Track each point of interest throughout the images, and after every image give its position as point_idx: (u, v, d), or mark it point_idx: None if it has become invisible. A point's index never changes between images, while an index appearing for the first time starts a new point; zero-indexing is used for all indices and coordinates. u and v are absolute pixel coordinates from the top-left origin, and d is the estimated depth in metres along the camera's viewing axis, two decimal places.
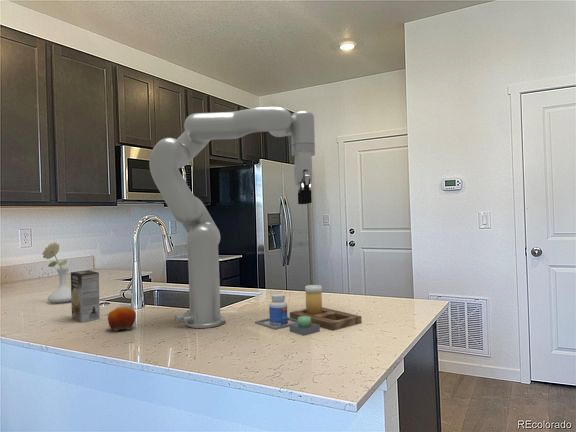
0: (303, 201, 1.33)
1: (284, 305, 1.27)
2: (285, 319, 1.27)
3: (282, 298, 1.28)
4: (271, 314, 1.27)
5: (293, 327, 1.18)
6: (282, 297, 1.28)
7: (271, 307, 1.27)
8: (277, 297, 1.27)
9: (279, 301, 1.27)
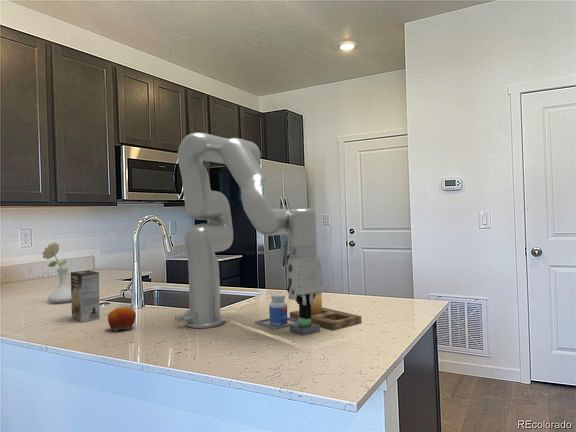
0: None
1: (284, 305, 1.27)
2: (285, 319, 1.27)
3: (282, 298, 1.28)
4: (271, 314, 1.27)
5: (293, 327, 1.18)
6: (282, 297, 1.28)
7: (271, 307, 1.27)
8: (277, 297, 1.27)
9: (279, 301, 1.27)
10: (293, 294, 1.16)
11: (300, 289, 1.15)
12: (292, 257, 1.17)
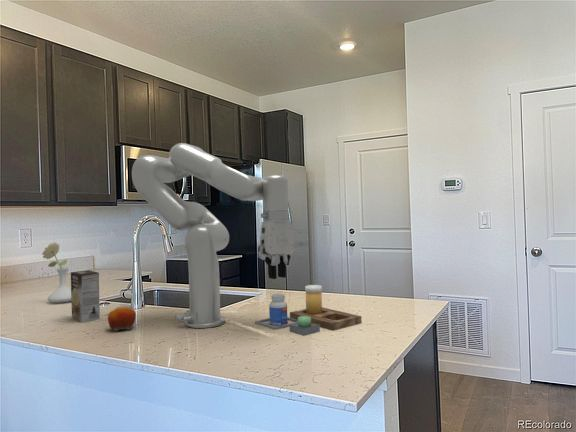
0: None
1: (284, 305, 1.27)
2: (285, 319, 1.27)
3: (282, 298, 1.28)
4: (271, 314, 1.27)
5: (293, 327, 1.18)
6: (282, 297, 1.28)
7: (271, 307, 1.27)
8: (277, 297, 1.27)
9: (279, 301, 1.27)
10: (263, 253, 1.25)
11: (272, 249, 1.24)
12: (265, 220, 1.27)
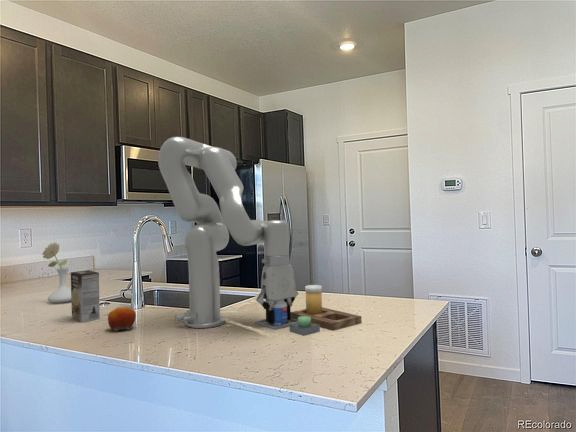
0: None
1: (284, 305, 1.27)
2: (285, 319, 1.27)
3: None
4: None
5: (293, 327, 1.18)
6: None
7: None
8: None
9: (279, 301, 1.27)
10: (261, 297, 1.24)
11: (273, 295, 1.24)
12: (266, 265, 1.27)
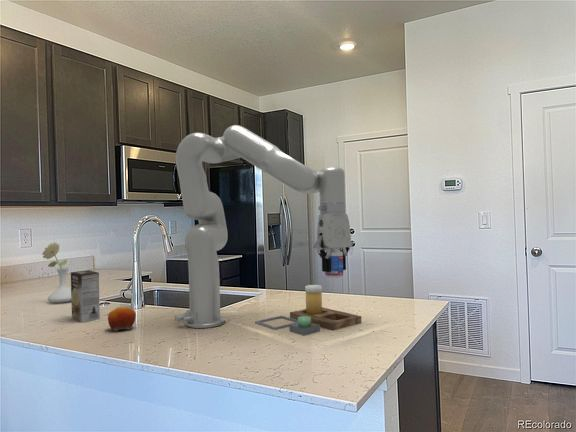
0: None
1: (341, 253, 1.25)
2: (341, 268, 1.25)
3: None
4: None
5: (293, 327, 1.18)
6: None
7: None
8: None
9: (335, 249, 1.25)
10: (319, 245, 1.22)
11: (330, 242, 1.22)
12: (323, 213, 1.25)
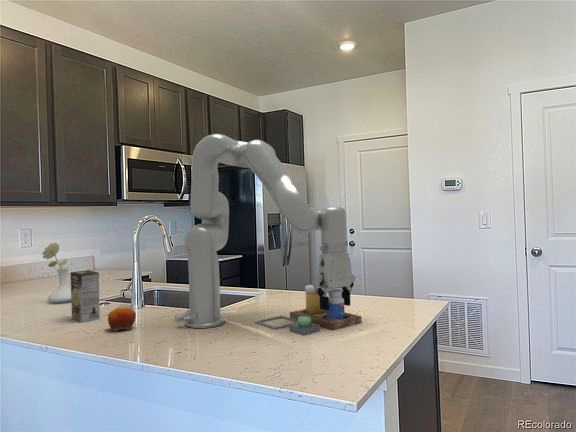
0: None
1: (342, 301, 1.25)
2: (343, 315, 1.25)
3: (339, 293, 1.26)
4: (329, 310, 1.25)
5: (293, 327, 1.18)
6: (339, 292, 1.26)
7: None
8: (335, 292, 1.25)
9: (337, 297, 1.25)
10: (318, 282, 1.22)
11: (332, 283, 1.22)
12: (324, 253, 1.25)
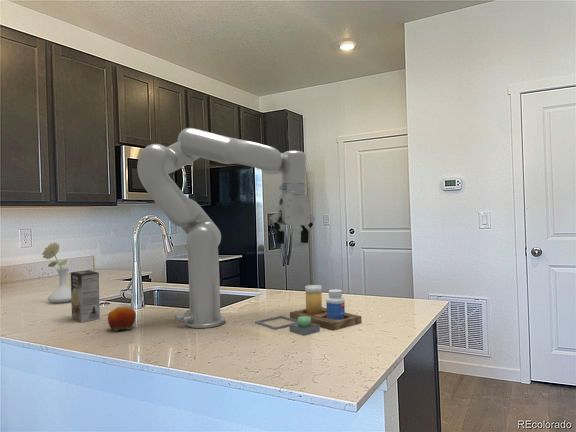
0: None
1: (342, 301, 1.25)
2: (343, 315, 1.25)
3: (340, 294, 1.26)
4: (329, 310, 1.25)
5: (293, 327, 1.18)
6: (340, 293, 1.26)
7: (329, 303, 1.25)
8: (335, 293, 1.25)
9: (337, 297, 1.25)
10: (275, 217, 1.32)
11: (288, 219, 1.33)
12: (283, 192, 1.35)
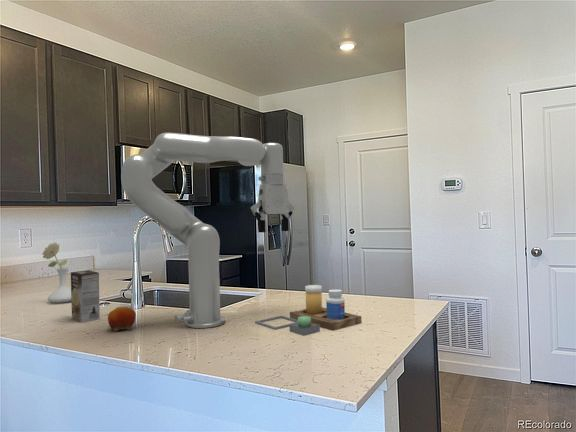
0: None
1: (342, 301, 1.25)
2: (343, 315, 1.25)
3: (340, 294, 1.26)
4: (329, 310, 1.25)
5: (293, 327, 1.18)
6: (340, 293, 1.26)
7: (329, 303, 1.25)
8: (335, 292, 1.25)
9: (337, 297, 1.25)
10: (256, 207, 1.38)
11: (268, 208, 1.39)
12: (263, 183, 1.41)
